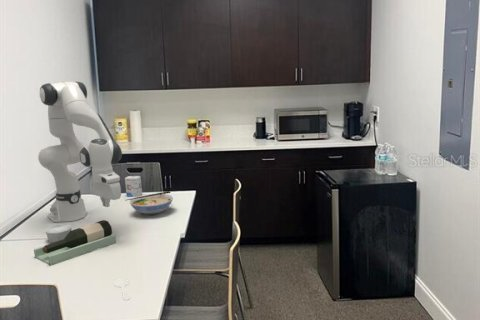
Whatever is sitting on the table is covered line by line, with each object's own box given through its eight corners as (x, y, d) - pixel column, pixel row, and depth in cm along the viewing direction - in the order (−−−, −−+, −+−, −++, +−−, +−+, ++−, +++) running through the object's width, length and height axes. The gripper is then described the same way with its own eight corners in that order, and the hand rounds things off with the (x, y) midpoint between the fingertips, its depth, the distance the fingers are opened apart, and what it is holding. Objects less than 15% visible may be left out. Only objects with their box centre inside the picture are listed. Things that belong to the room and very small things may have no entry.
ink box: (126, 197, 285) (124, 177, 283) (129, 194, 290) (127, 175, 288) (139, 196, 284) (137, 177, 282) (142, 194, 289) (140, 175, 286)
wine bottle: (113, 225, 210) (50, 247, 187) (110, 241, 213) (48, 264, 191) (102, 216, 214) (39, 236, 191) (100, 231, 218) (37, 252, 195)
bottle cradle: (34, 257, 196) (33, 249, 195) (99, 236, 218) (98, 229, 217) (50, 265, 187) (49, 257, 186) (116, 242, 208) (115, 235, 208)
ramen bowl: (135, 222, 235) (133, 207, 233) (123, 211, 255) (122, 197, 253) (182, 213, 246) (181, 198, 244) (168, 203, 266) (166, 189, 264)
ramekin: (66, 233, 224) (65, 222, 223) (77, 238, 216) (75, 227, 215) (42, 240, 217) (41, 229, 216) (53, 246, 209) (51, 234, 208)
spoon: (119, 302, 154) (119, 301, 154) (112, 281, 170) (112, 279, 170) (135, 299, 156) (135, 297, 156) (127, 277, 172) (127, 276, 172)
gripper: (84, 174, 213) (87, 204, 216) (109, 180, 199) (112, 211, 202) (96, 172, 217) (100, 201, 220) (122, 177, 204) (125, 208, 206)
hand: (106, 206), depth 211 cm, fingers closed
